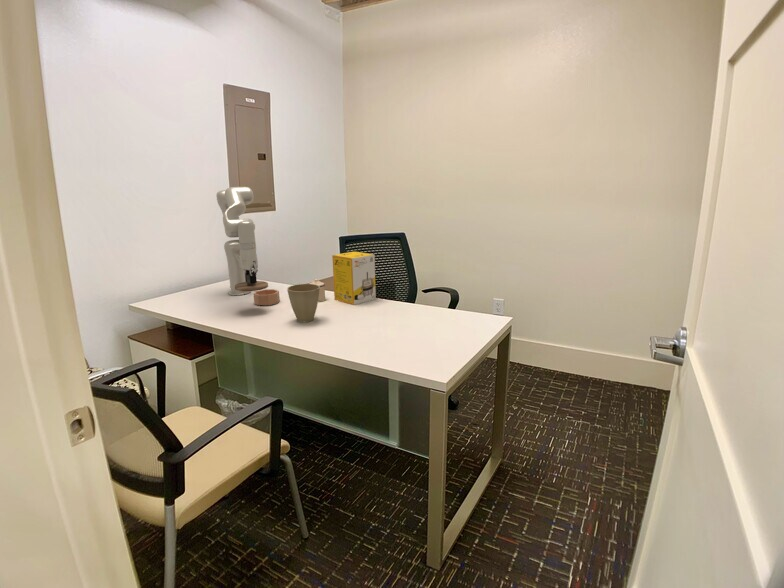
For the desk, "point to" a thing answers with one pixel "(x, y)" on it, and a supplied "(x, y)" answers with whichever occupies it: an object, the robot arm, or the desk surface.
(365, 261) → the packaging box
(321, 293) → the teacup with lid
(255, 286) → the lid
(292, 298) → the plant pot
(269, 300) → the bowl
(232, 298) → the desk surface
